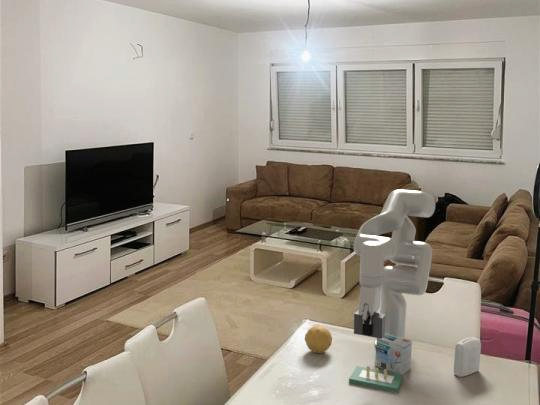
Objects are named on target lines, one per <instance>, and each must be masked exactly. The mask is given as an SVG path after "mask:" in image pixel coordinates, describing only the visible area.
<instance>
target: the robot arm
mask: <svg viewBox="0 0 540 405" xmlns="http://www.w3.org/2000/svg"><path fill="white" fill-rule="evenodd" d="M435 210H436V201H435V198H434V197H433V195H432V194H430V193H428V192H425V191H421V190H410V189H395V190H392V191H391V192H390V193H389V194H388V196H387V199H386V201H385V203H384V204H383V207H382V210H381V212H380V214H377V215H375V216H374V217H372V218H370V219H368V220H366V221H365V222H364V223H362V225H361V226H360V227H359V230H358V232H357V234H356V236H355V239H354V242H353V252H354V253H355V254H356V255H357V256H359V258H360V260H359V263H360V264H359V284H360V285H361V286H360V290H359V298H358V300H359V301H358V308H357V310H358V313H359V314H360V315H361V314H362V313H363V318H362V320H363V335H362V336H364V335H369V336H372V333H373V324H372V316H373V315H374V314H375V313H378V311H379V308H380V311H379V313H381V314H386V318H385V333H390V334H393V335H396V336H399V337H402V338H405V339H406V325H407V324H406V321H407V302H406V298H405V296H404V294H405V295H412V296H423V295H425V293H426V290H427V288H428V283H429V277H430V271H431V265H432V260H433V249H432V246H431V245H430V244H429V243H427V242H425V241H419V240H415V237H416V232H417V230H416V226H415V225H414V223H413V221H412V220H411V219H410V218H409V217H410V216H411V217H419V218H430V217H432V216H433V214H434V213H435ZM387 233H392V234H391V237H388V236H380V235H381V234H387ZM386 261H390V262H391V263H393V264H397V265H386V266H384V265H385V262H386ZM399 265H400V266H399ZM404 266H405V267H404ZM406 266H407V267H406ZM408 266H409V267H411V268H409V267H408ZM412 267H414V268H412ZM368 313H370V314H368ZM368 317H370V320H369V318H368ZM369 336H368V337H369ZM376 341H377V339H376V340H375V341H374V346H375V348H376Z"/></svg>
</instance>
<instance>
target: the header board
mask: <svg viewBox="0 0 540 405" xmlns="http://www.w3.org/2000/svg"><path fill="white" fill-rule="evenodd" d="M403 381H404V374H402V375H401V374H396V373H393V372H390V371H388V370H386V369H383V370H380V369H379V367H375V368H371V367H370V365H367V366H366V367H364V366H359V365H356V367H355V368H354V370H353V372H352V374H351V375H350V376H349V378H348V383H349V384H353V385H358V386H364V387H368V388H372V389H376V390H377V389H378V390H382V391H388V392H392V393H396V394H397V393H398V392H399V390H400V389H401V386H402V383H403Z"/></svg>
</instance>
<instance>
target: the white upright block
mask: <svg viewBox="0 0 540 405" xmlns="http://www.w3.org/2000/svg"><path fill="white" fill-rule="evenodd" d="M481 349H482V343H481V340H480V339H479V338H477V337H475V336H474V337H472V336H471V337H467V338H464V339H462V340H460V341H459V342H458V343H457V344H455V348H454V362H453V373H454V375H455V376H456V377H461V378H462V377H466V376H467V377H468V376H469V375H472V374H474V373H477V372H478V371H479V370H480V364H481V361H480V360H481V353H482V350H481Z"/></svg>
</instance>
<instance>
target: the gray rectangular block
mask: <svg viewBox="0 0 540 405" xmlns="http://www.w3.org/2000/svg"><path fill="white" fill-rule="evenodd" d="M368 314H370V313H368ZM353 316H354V318H353V334H354V335H358V336H365V337H370V338H375V339H377V338H380V339H382V338H383V336H384V335H385V318H386V314H381V313H380V312H377V313H375V314H374V315H373V316H372V324H373V333H372V336H369V335H363V320H362V318H363V313H362V314H361V315H360V314H359V313H358V309H357V310H356V311H355V312H354V315H353ZM368 318H369V320H370V317H368Z"/></svg>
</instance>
